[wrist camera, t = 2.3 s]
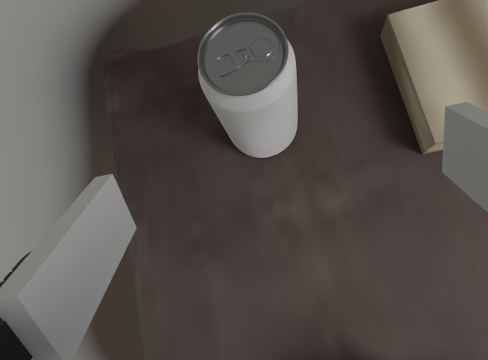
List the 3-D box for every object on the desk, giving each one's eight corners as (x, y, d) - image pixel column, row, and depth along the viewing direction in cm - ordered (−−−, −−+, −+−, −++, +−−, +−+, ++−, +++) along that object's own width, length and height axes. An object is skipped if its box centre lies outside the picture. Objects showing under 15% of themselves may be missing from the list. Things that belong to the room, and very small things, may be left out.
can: (309, 142, 31) (313, 74, 20) (243, 170, 32) (210, 119, 20) (281, 83, 33) (271, -11, 22) (219, 110, 34) (176, 32, 22)
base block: (513, -1, 31) (535, -27, 28) (572, 119, 28) (603, 103, 25) (380, 36, 33) (387, 14, 30) (422, 154, 30) (435, 143, 27)
